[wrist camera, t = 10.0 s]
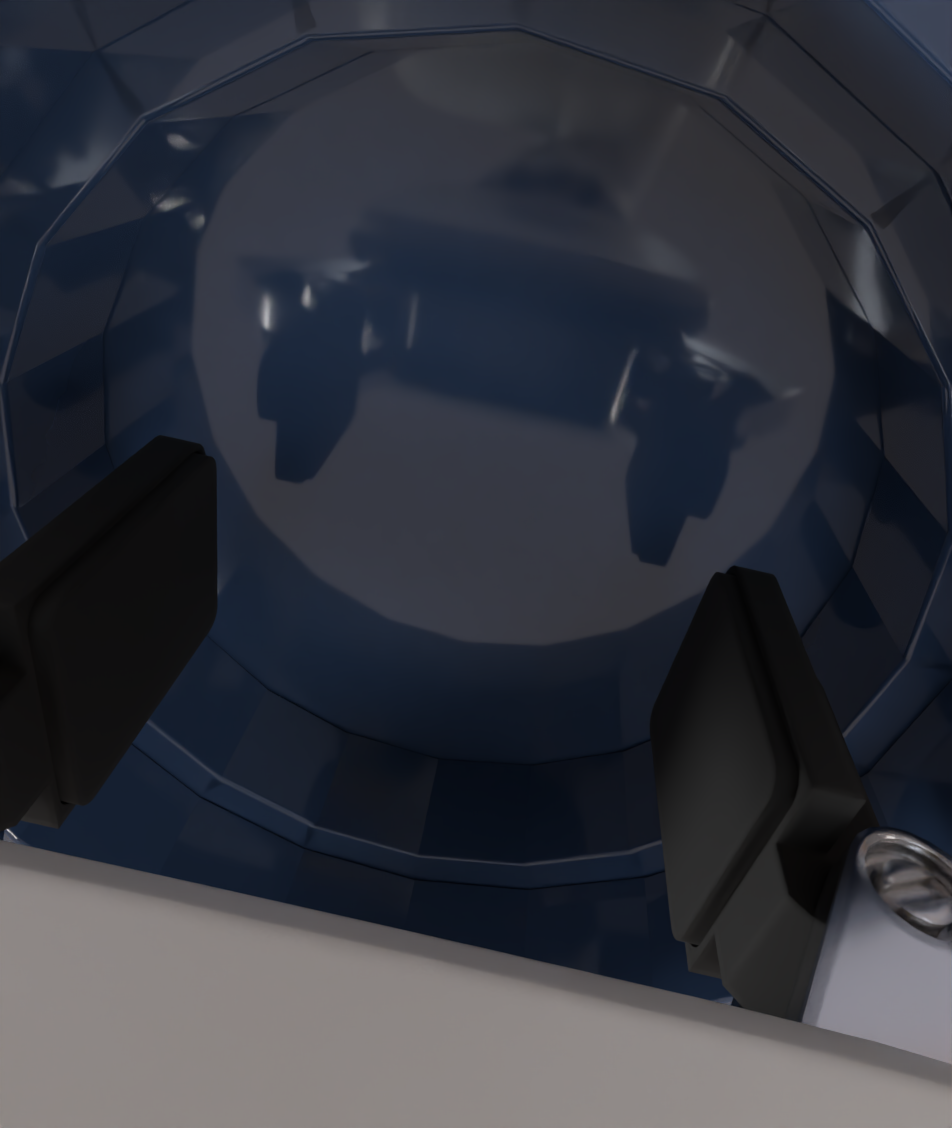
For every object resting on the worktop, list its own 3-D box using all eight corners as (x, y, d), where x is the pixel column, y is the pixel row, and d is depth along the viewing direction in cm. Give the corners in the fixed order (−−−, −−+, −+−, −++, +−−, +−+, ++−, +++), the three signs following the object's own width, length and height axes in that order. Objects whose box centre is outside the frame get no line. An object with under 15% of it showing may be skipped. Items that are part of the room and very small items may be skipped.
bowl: (610, -517, 7) (665, -1677, 2) (1097, 587, 13) (1392, 875, 8) (-108, 390, 13) (-471, 551, 9) (427, 854, 19) (377, 1100, 14)
